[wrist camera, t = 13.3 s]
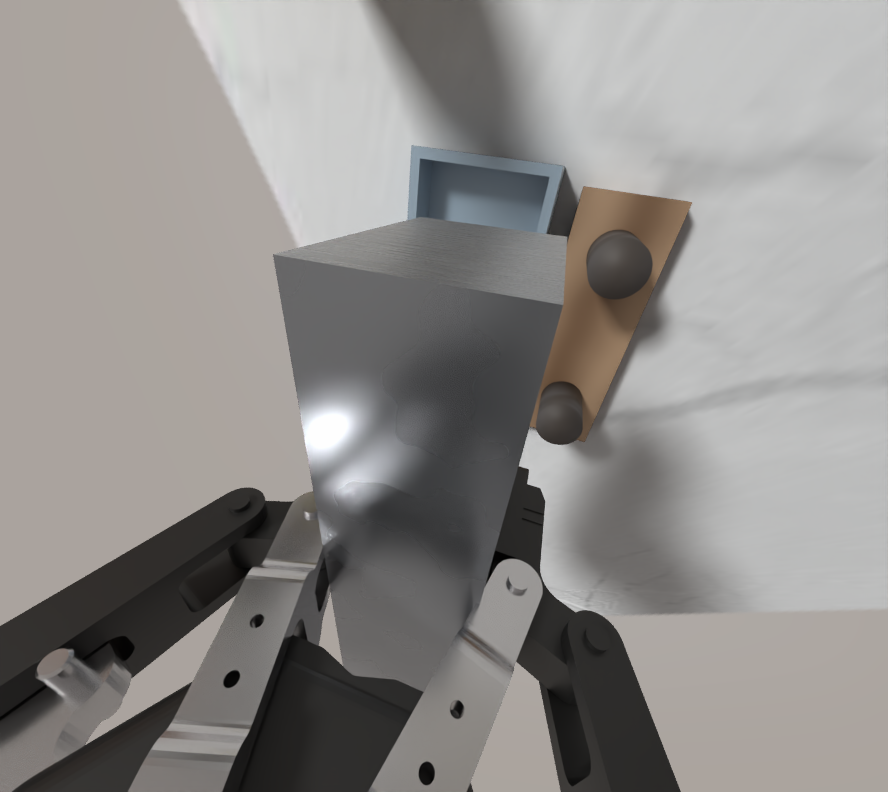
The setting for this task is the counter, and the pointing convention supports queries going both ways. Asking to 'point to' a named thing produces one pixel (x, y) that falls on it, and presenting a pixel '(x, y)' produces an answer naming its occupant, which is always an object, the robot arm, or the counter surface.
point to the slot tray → (483, 189)
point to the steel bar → (416, 418)
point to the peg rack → (602, 302)
